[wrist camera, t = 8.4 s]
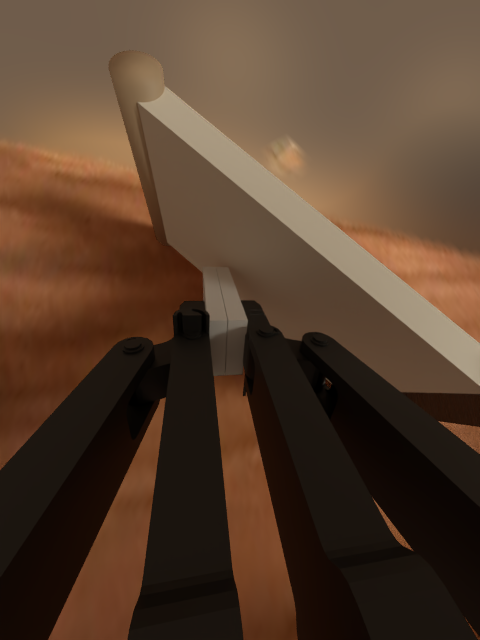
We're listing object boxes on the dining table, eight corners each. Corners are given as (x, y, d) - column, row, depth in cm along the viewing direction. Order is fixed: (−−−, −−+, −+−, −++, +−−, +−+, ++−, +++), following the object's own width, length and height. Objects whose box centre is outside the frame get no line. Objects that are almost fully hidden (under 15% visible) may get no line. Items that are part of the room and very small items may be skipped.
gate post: (400, 356, 22) (721, 307, 8) (416, 430, 20) (837, 513, 7) (337, 358, 21) (587, 305, 7) (348, 436, 19) (689, 546, 6)
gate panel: (347, 372, 20) (520, 356, 9) (334, 393, 19) (503, 400, 8) (168, 219, 20) (137, 43, 10) (150, 234, 20) (96, 63, 9)
